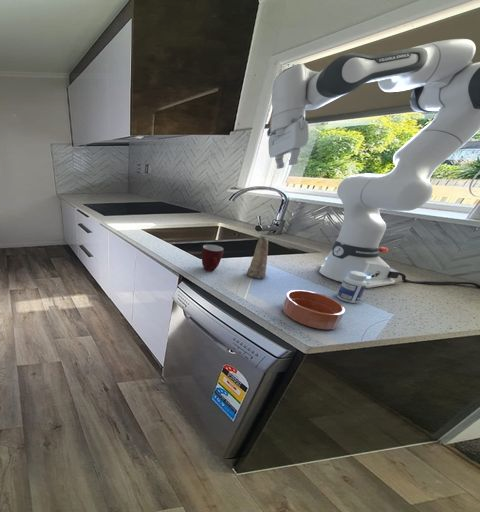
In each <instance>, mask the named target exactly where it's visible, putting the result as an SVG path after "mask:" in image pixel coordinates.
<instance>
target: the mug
mask: <svg viewBox="0 0 480 512" xmlns="http://www.w3.org/2000/svg"><path fill="white" fill-rule="evenodd" d="M224 249H225V248H224V247H222V246H220V245H217V244H204V245H202V249H201V264H202V266H203V269H204V270H205V271H207V272H214V271H215V270H216V269H217V268H218V267H219V265H220V262H221V260H222V258H223V255H224Z"/></svg>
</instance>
